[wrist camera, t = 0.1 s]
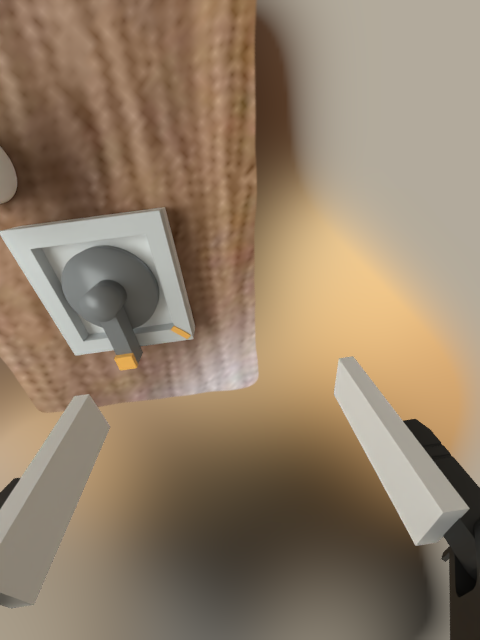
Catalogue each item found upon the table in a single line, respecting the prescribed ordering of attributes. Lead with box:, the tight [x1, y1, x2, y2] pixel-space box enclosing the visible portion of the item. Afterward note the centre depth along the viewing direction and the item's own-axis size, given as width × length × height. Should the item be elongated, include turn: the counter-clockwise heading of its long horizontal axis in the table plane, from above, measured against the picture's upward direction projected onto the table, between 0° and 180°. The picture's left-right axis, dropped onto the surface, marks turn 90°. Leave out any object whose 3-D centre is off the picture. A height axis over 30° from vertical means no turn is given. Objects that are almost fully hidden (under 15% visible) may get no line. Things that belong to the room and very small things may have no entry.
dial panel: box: [0, 207, 195, 355], centre depth 36 cm, size 20×20×4 cm
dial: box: [61, 245, 159, 370], centre depth 34 cm, size 18×13×6 cm
